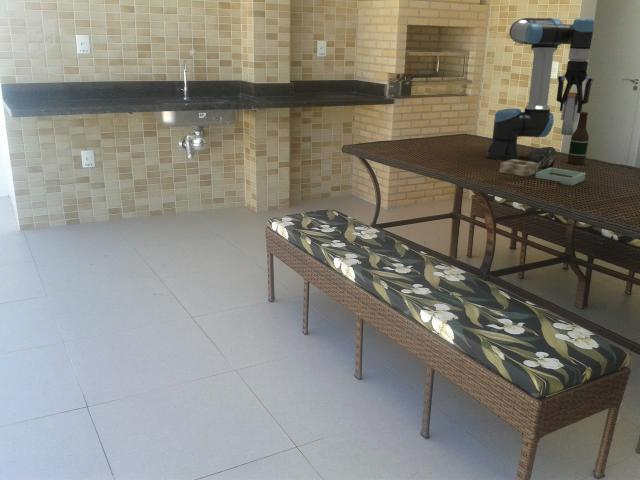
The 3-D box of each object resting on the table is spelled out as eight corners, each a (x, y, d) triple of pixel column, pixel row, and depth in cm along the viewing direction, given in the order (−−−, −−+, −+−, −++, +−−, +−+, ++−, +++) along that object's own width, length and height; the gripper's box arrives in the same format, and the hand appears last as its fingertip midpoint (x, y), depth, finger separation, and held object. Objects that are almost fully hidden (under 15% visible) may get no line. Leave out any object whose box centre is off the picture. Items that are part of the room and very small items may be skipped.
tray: (535, 179, 254) (536, 172, 253) (549, 174, 265) (550, 167, 264) (571, 185, 245) (572, 178, 244) (584, 180, 255) (585, 173, 254)
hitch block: (499, 174, 262) (500, 162, 261) (511, 170, 271) (512, 159, 269) (525, 178, 255) (527, 167, 253) (537, 174, 264) (538, 163, 262)
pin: (559, 134, 248) (565, 92, 243) (563, 133, 251) (569, 92, 246) (570, 135, 245) (576, 93, 240) (574, 134, 249) (580, 93, 243)
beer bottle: (586, 165, 285) (594, 113, 277) (568, 164, 286) (576, 112, 278) (582, 162, 292) (591, 111, 284) (565, 161, 293) (573, 110, 286)
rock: (560, 162, 276) (555, 143, 272) (560, 172, 269) (554, 152, 265) (533, 169, 282) (527, 150, 278) (532, 179, 275) (526, 159, 271)
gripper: (552, 59, 242) (544, 119, 249) (597, 61, 231) (587, 123, 239) (559, 59, 247) (551, 117, 255) (604, 61, 236) (594, 122, 244)
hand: (569, 120), depth 247 cm, fingers closed on pin, 4 cm apart
